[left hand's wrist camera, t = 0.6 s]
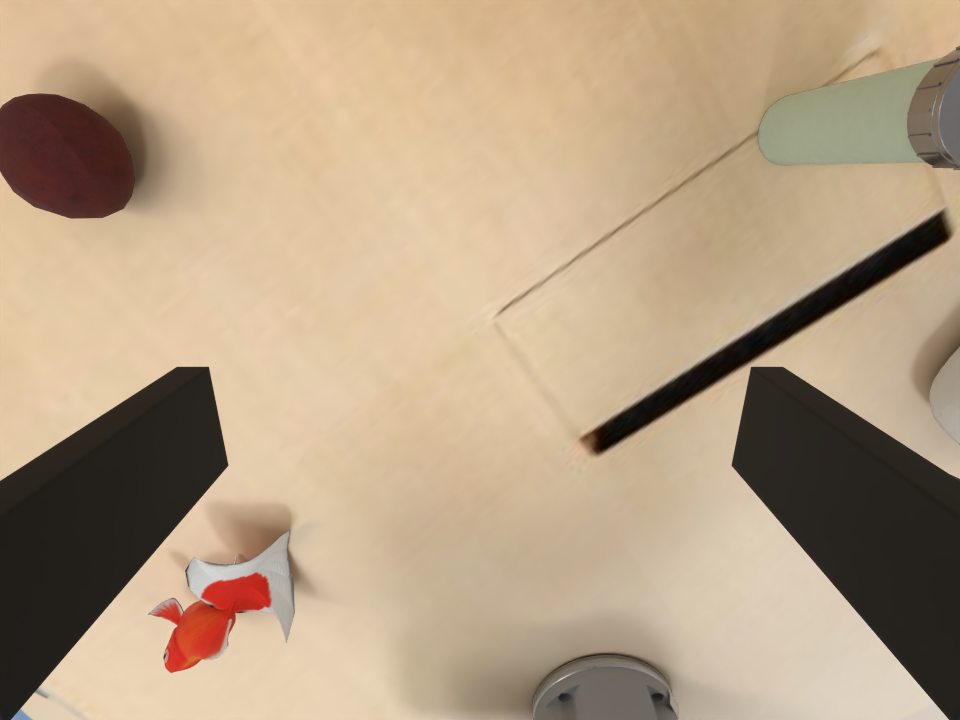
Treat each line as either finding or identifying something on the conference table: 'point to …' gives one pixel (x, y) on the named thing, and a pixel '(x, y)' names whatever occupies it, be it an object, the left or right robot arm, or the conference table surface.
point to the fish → (227, 603)
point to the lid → (937, 114)
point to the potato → (64, 157)
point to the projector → (947, 396)
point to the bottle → (845, 121)
